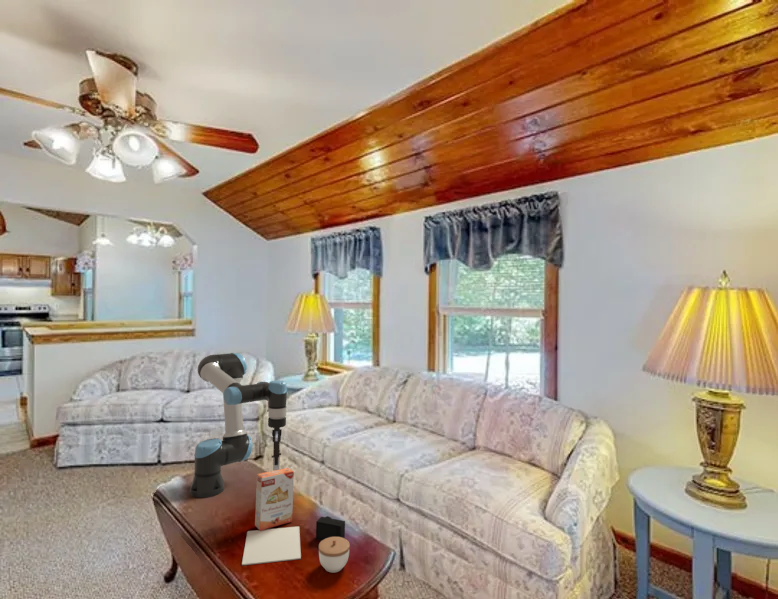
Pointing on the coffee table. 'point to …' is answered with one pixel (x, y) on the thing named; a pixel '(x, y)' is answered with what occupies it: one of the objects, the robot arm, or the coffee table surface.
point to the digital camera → (329, 528)
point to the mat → (272, 545)
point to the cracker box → (274, 498)
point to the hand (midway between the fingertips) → (276, 471)
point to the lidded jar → (334, 553)
